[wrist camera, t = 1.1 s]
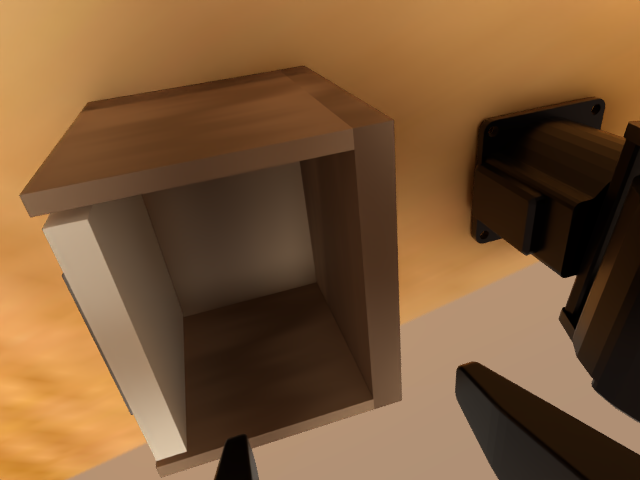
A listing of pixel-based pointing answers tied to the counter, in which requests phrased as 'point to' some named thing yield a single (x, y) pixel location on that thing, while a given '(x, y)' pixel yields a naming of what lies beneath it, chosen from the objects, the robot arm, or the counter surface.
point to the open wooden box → (255, 243)
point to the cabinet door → (128, 310)
